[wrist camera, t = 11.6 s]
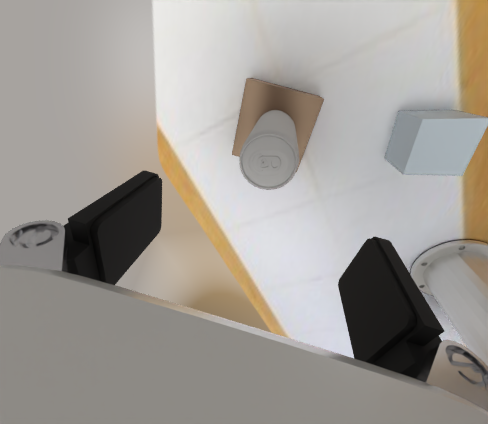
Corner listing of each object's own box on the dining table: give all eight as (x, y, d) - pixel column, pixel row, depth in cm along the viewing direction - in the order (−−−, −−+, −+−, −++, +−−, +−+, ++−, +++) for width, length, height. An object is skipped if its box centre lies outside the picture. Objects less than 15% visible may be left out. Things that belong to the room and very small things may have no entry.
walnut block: (319, 96, 28) (324, 99, 25) (295, 162, 33) (296, 172, 30) (251, 77, 28) (246, 78, 25) (237, 146, 33) (231, 154, 30)
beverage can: (255, 109, 26) (235, 131, 16) (296, 108, 26) (302, 131, 16) (256, 149, 29) (239, 190, 19) (293, 149, 28) (297, 192, 18)
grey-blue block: (452, 109, 27) (491, 118, 22) (432, 158, 30) (462, 175, 25) (398, 110, 28) (422, 119, 23) (384, 158, 31) (403, 174, 26)
